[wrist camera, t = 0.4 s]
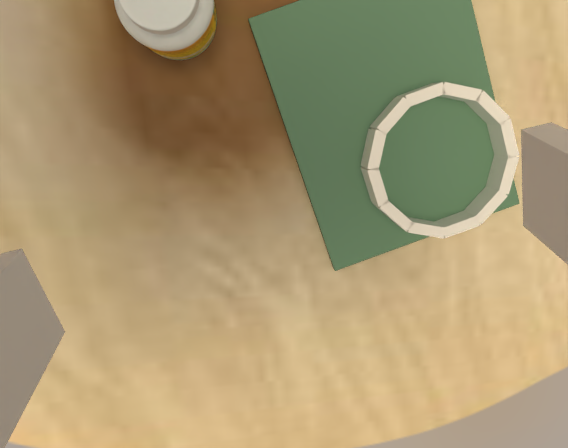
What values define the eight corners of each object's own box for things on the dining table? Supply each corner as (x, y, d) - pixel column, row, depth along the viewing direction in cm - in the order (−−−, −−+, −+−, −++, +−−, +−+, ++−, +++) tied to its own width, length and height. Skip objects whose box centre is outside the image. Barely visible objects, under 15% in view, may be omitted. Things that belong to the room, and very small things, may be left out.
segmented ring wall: (344, 115, 36) (350, 115, 34) (483, 64, 36) (497, 62, 34) (386, 249, 38) (394, 257, 36) (516, 201, 39) (531, 206, 37)
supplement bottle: (120, 8, 34) (75, -31, 24) (185, -41, 33) (165, -99, 24) (170, 77, 35) (146, 66, 25) (233, 31, 35) (232, 3, 25)
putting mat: (248, 19, 34) (248, 18, 34) (454, -55, 35) (457, -57, 34) (333, 268, 39) (335, 270, 38) (515, 202, 39) (519, 203, 39)
